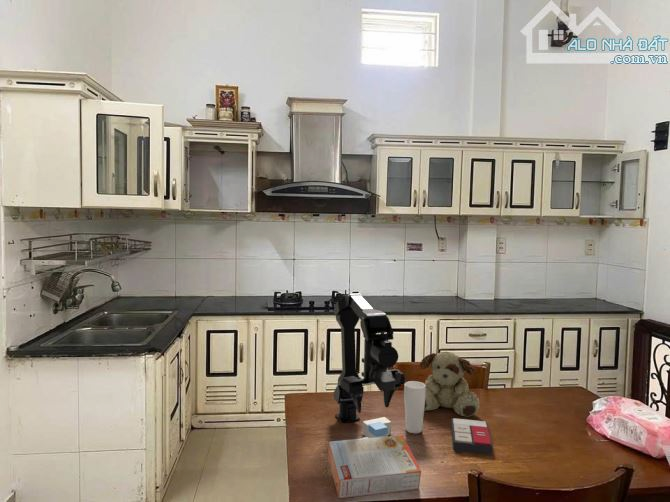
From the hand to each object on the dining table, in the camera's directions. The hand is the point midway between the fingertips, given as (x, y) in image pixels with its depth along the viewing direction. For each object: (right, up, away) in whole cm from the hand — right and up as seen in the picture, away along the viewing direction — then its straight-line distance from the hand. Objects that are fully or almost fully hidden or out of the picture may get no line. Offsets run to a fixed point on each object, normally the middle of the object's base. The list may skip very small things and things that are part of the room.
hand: (372, 409), depth 130 cm
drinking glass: (+14, -12, +14) cm, 23 cm away
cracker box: (+9, -9, -12) cm, 18 cm away
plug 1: (+2, -12, +12) cm, 17 cm away
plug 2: (+1, -12, 0) cm, 12 cm away
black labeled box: (+31, -13, +8) cm, 34 cm away
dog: (+30, -11, +34) cm, 47 cm away
